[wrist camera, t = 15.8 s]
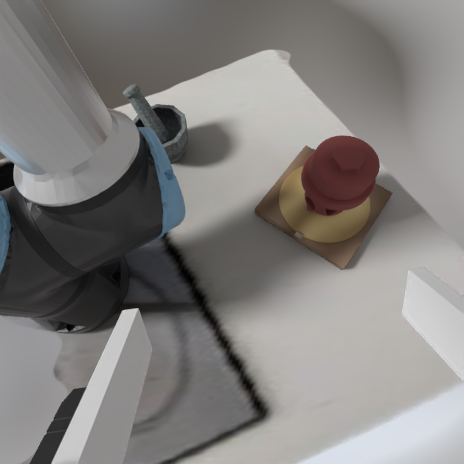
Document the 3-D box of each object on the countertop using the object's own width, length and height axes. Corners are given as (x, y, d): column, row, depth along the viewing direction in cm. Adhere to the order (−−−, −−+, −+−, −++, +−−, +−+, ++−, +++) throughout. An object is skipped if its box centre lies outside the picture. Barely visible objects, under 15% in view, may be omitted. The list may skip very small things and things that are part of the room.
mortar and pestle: (203, 150, 53) (191, 101, 42) (166, 181, 51) (144, 137, 40) (166, 119, 56) (146, 66, 45) (130, 147, 54) (100, 98, 43)
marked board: (254, 213, 48) (254, 208, 46) (304, 150, 52) (306, 144, 50) (341, 270, 44) (345, 267, 42) (388, 197, 48) (393, 192, 46)
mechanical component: (367, 211, 45) (315, 239, 44) (330, 166, 48) (282, 191, 47) (408, 168, 33) (340, 204, 32) (357, 113, 37) (293, 144, 36)
